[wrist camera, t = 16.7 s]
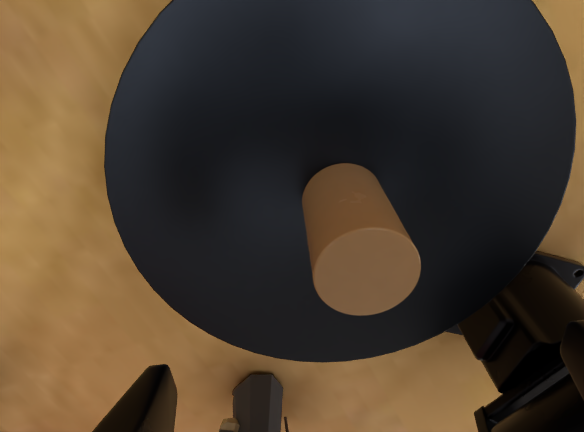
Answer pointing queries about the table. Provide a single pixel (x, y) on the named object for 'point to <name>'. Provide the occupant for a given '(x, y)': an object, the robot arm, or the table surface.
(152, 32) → the lid
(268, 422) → the wizard figurine
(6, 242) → the table surface
